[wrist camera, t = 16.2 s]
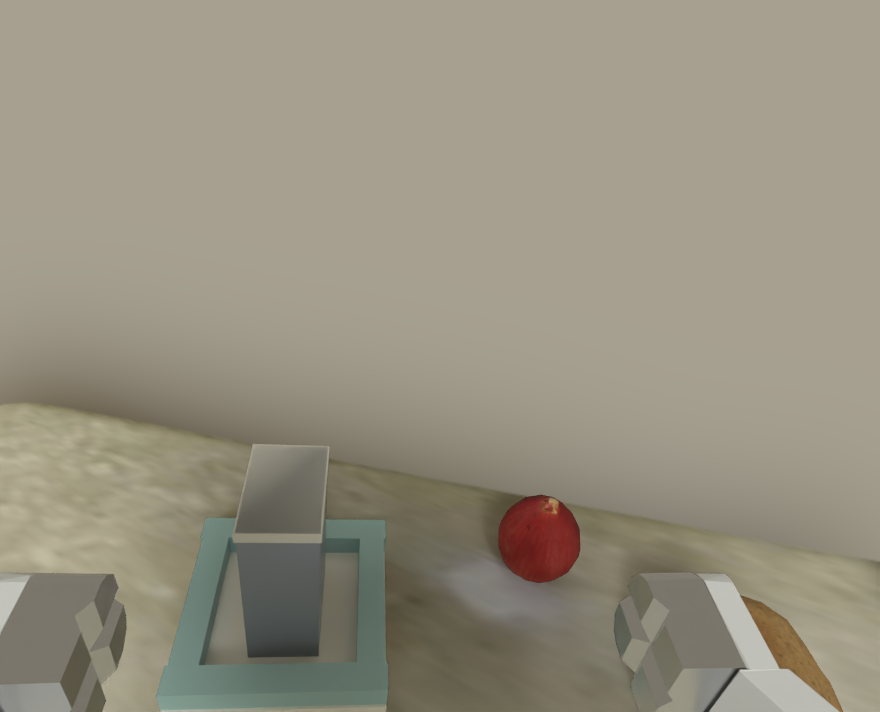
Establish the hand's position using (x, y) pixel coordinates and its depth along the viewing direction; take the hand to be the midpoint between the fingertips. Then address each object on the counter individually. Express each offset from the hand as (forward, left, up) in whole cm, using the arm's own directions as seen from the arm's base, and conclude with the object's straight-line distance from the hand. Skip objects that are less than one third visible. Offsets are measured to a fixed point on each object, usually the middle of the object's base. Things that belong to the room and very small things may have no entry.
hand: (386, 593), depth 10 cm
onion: (-13, -22, -30) cm, 40 cm away
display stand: (+4, -17, -30) cm, 35 cm away
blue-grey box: (+4, -17, -27) cm, 32 cm away
